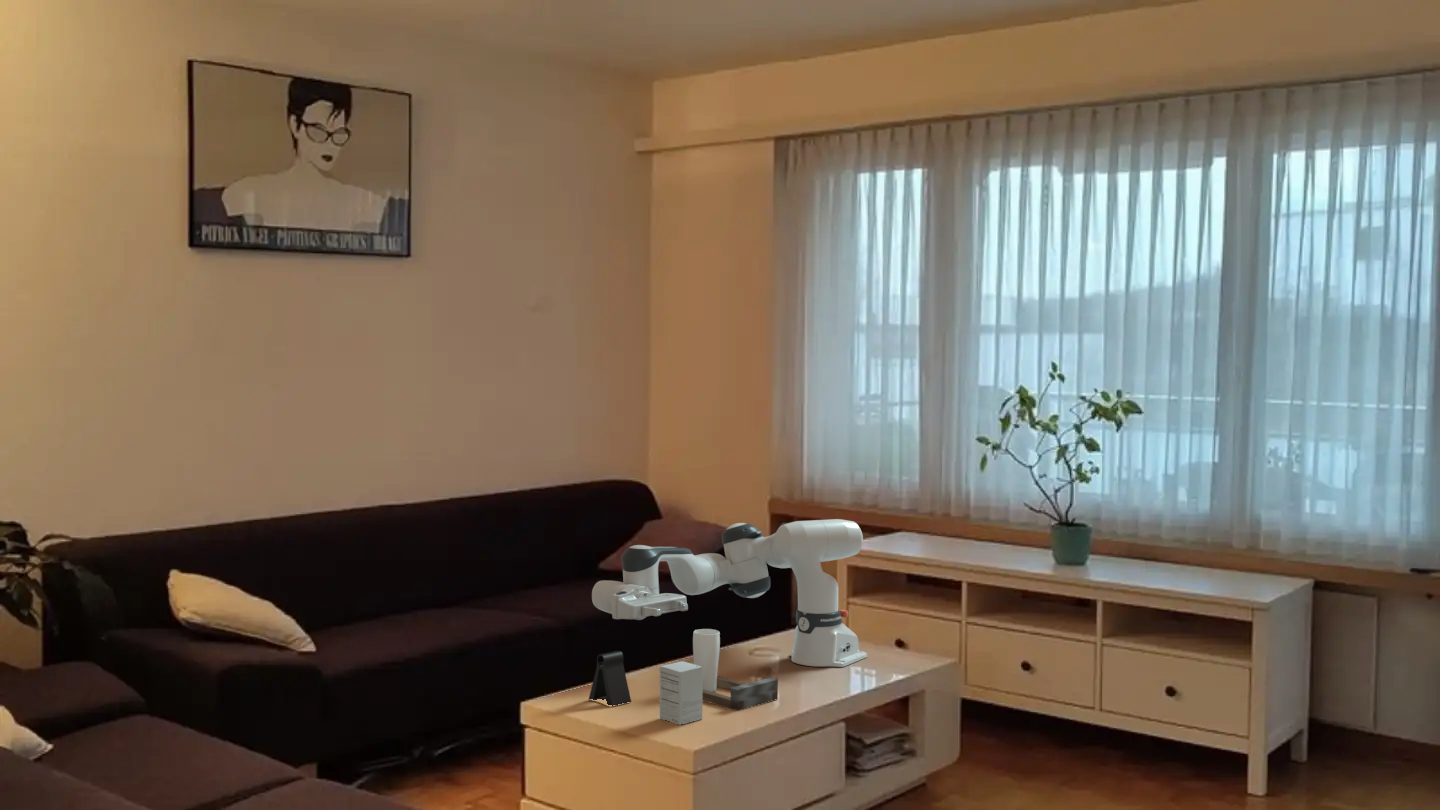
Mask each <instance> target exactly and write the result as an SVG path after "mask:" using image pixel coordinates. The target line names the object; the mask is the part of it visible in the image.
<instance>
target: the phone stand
mask: <svg viewBox="0 0 1440 810" xmlns="http://www.w3.org/2000/svg"><path fill="white" fill-rule="evenodd" d="M626 676H627V675H626V671H625V665H624V654H623V652H622V651H619V650H614V651H611V652H606V653H605V652H604V653H600V654H598V655H597V657H596V669H595V672H594V677H593V681H592V685H591V687H590V692H589V696H588V700H589V699H593V700H597V699H602V700H604V699H606V701H607V704H608V705H612V706H613V705H618V704H622V703H627V702H631V703H632V698H631V694H630V689H629V685H628V680H627V677H626ZM627 704H628V703H627Z"/></svg>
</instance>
